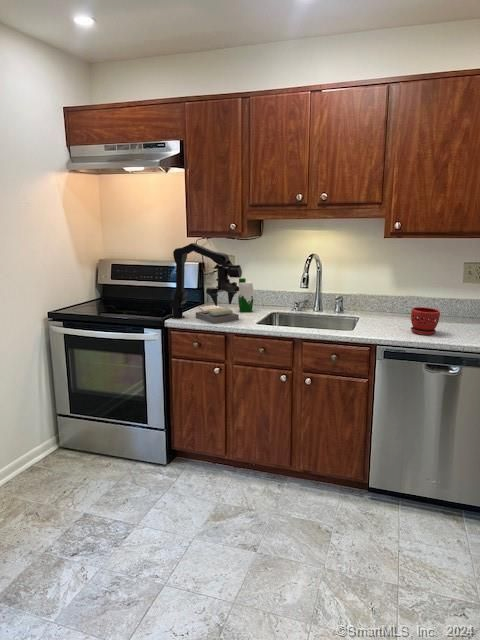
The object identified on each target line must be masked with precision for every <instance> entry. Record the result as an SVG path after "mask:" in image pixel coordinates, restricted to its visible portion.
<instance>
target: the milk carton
mask: <svg viewBox="0 0 480 640" xmlns="http://www.w3.org/2000/svg"><path fill="white" fill-rule="evenodd" d="M253 286H254V285H253V281H252V280H251V281H248V280H246V278H244V277H241V278H238V287H239V291H237V294H238V295H237V297H238V310H239V312H240V313H253V306H254V287H253Z"/></svg>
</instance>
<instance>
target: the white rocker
mask: <svg viewBox="0 0 480 640" xmlns="http://www.w3.org/2000/svg"><path fill="white" fill-rule="evenodd" d="M221 308H222V307H221V306H219V305H218V304H217V306H215V304H213V305H206V306H205V305H204V306H200V307H199V308H198V309H199V311H200V312H204V313H208V312H209V310H214V309H221Z"/></svg>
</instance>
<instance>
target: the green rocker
mask: <svg viewBox="0 0 480 640" xmlns="http://www.w3.org/2000/svg"><path fill="white" fill-rule="evenodd" d="M209 313H211V314H212V315H214V316H216V315H222V314H229V313H234V311H233V310H232V309H230V308H228V307H221V309H214V310H209Z"/></svg>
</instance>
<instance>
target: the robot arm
mask: <svg viewBox="0 0 480 640" xmlns="http://www.w3.org/2000/svg"><path fill="white" fill-rule="evenodd" d="M172 252H173V253H172V255H173V260H174V262H175V291H174V293H173V296H172V301H171V302H170V303H169V304H168V305H169V308H170V309H171V311H172V312H171V313H172V314H171V316H173V317H174V318H173V319H175V318H177V319H182V317H183V318H185V315H183V307H184V306H185V303H187V300H188V299H189V297H188V295H189V292H188V291H186V289H185V264H186V262H187V259H188V254H190V253H193V252H194V253H196V254H199V255H200V256H201V255H202V256H204V257H206V258H209V260H212V262H214V263H215V264H216V265H215V266H213V269H214V270H217V278H216V279H215V281H217V285H216V286H215V287H207V288H206V290H205V293H206V294H208V295H209V296H210V297H211V299H212V302H213V303H214V304H213V305H215V306H217V305H218V296H219V294H218V293H219V292H220V293H221V292H222V293H223V292H226V293H227V298H228V305H231V304H232V302H233V299H234V296H235V295H236V294H238V291H239V285H238V283H237V281H234V282H230V278H236V279H240V278H242V276H243V275H242V274H243V270H242V266H241V265H240V264H233V263H232V260H230V258H229V255H228V254H227V253H223V252H219V251H218V252H217V251H213V250H211V249H209V248H207V247H204V246H202V245H199V244H197V243H195V242H194V243H193V242H191V243H189V244H187V245H185V246H182V247H178V248H175V249H174V250H173V251H172Z"/></svg>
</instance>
